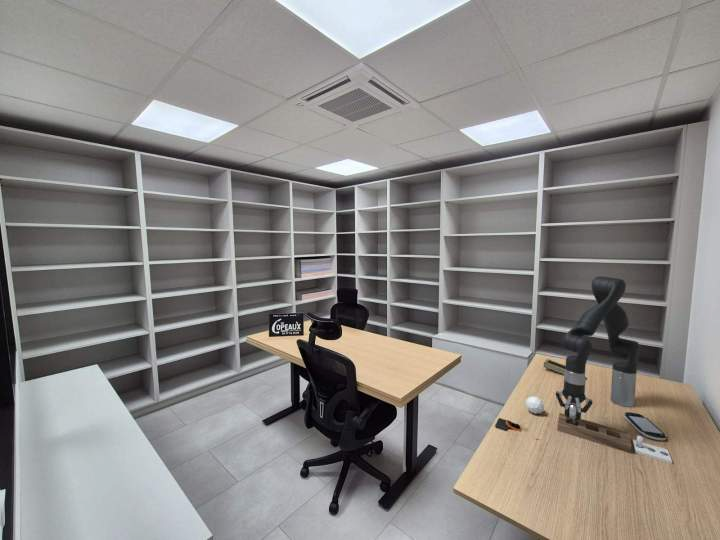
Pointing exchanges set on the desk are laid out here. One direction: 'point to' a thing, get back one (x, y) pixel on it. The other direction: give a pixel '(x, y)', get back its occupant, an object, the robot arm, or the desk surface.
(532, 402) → the geometric ball
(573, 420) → the steel pin
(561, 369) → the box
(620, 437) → the pin board
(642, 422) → the gaming console
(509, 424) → the multimeter
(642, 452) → the white plate with peg
